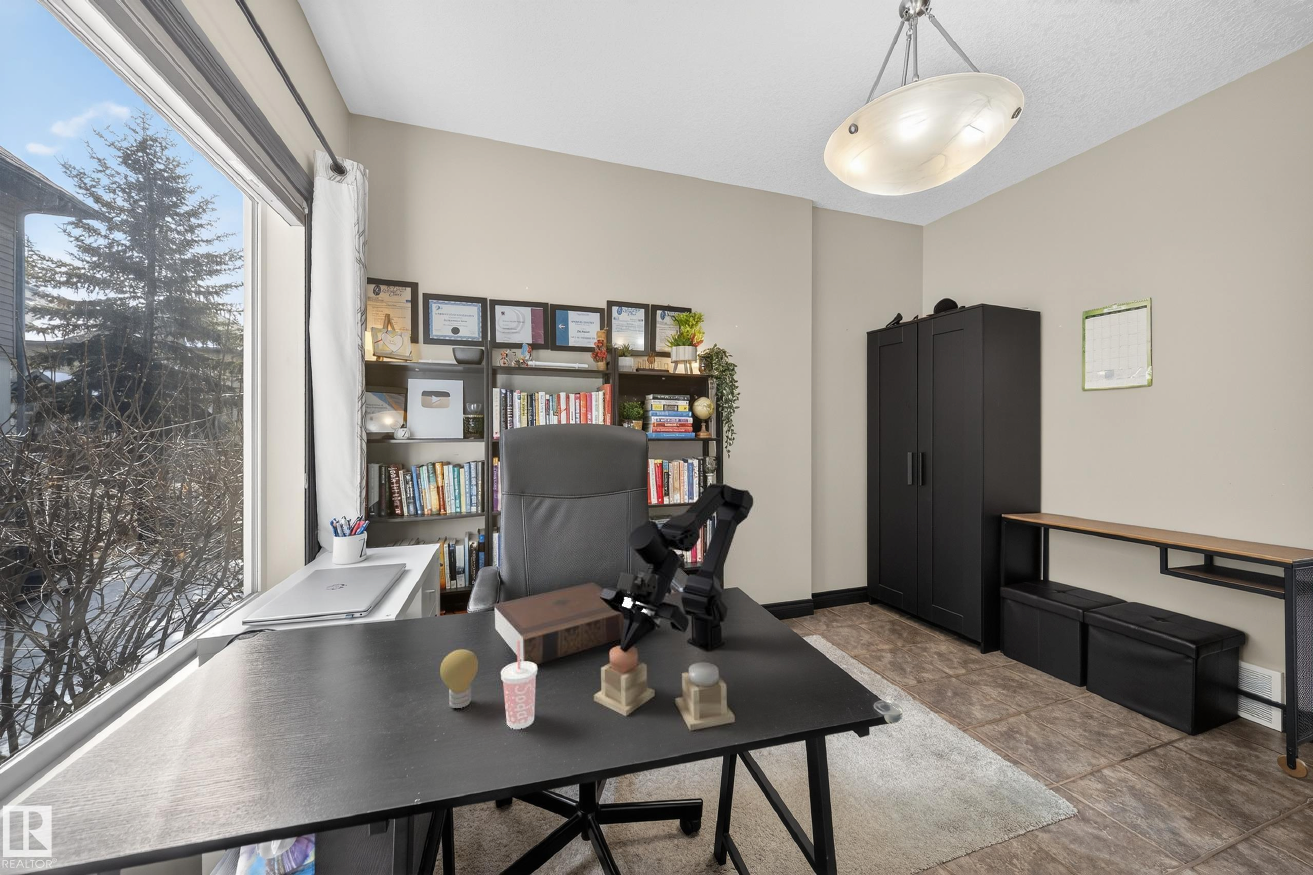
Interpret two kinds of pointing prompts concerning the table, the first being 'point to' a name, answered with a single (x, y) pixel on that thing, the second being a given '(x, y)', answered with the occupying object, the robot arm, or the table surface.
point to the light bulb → (459, 676)
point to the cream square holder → (624, 689)
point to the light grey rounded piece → (703, 674)
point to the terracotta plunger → (623, 659)
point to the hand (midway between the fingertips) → (622, 650)
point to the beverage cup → (519, 692)
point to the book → (558, 622)
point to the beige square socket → (704, 704)
